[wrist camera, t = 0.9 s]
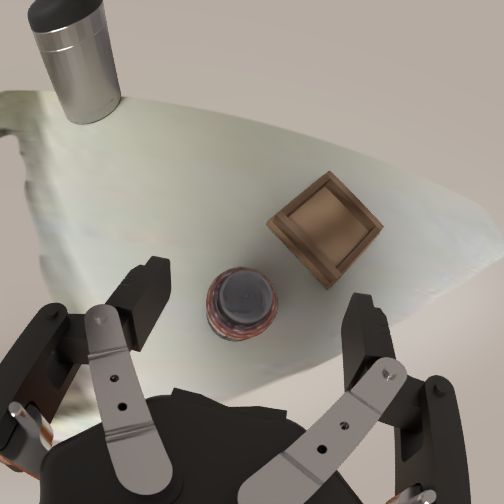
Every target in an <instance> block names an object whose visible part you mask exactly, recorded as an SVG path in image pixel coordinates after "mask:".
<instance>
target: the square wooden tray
mask: <svg viewBox="0 0 504 504" xmlns="http://www.w3.org/2000/svg"><path fill="white" fill-rule="evenodd" d="M266 225H267V226H268V227H269V228H270V229H271V230H272V231H273V232H274V234H275V235H276V236H277V237H278V238H279V239H280V240H281V241H282V242H283V243H284V244H285V245H286V246H287V247H288V248H289V249H290V250H291V251H292V252H293V253H294V255H295V256H296V257H297V258H298V259H299V260H300V261H301V262H302V263H303V264H304V265H305V266H306V267H307V268H308V269H309V270H310V272H311V273H312V274H313V275H314V276H315V277H316V278H317V279H318V280H319V281H320V282H321V283H322V284H323V285H324V287H325V288H326V289H329V288H331V287H332V286H333V284H334V283H335V282H336V281H337V280H338V279H339V278H340V277H341V276H342V275H343V274H344V273H345V272H346V271H347V269H348V268H349V267H350V266H351V265H352V264H353V263H354V262H355V261H356V260H357V259H358V257H359V256H360V255H361V254H362V253H363V252H364V251H365V250H366V249H367V247H368V246H369V245H370V244H371V243H372V242H373V241H374V240H375V238H376V237H377V236H378V235H379V234H380V231H381V230H382V229H383V227H384V226H383V225H382V224H381V223H380V222H379V221H378V220H377V218H376V217H375V216H374V215H373V214H372V213H371V212H370V211H369V210H368V209H367V208H366V207H365V206H364V205H363V204H362V203H361V202H360V200H359V199H358V198H357V197H356V196H355V195H354V194H353V193H352V192H351V191H350V190H349V189H348V188H347V187H346V186H345V185H344V184H343V183H342V182H341V181H340V180H339V179H338V178H337V177H336V176H335V175H334V174H333V173H332V172H331V171H328V172H327V173H326V174H325V175H323V176H322V177H321V178H319V179H318V180H317V181H316V182H315V183H313V184H312V185H311V186H310V187H308V188H307V189H306V190H305V191H304V192H302V193H301V194H300V195H299V196H298V197H296V198H295V199H294V200H293V201H291V202H290V203H289V204H288V205H287V206H285V207H284V208H283V209H282V210H281V211H279V212H278V213H277V214H276V215H274V216H273V217H272V218H271V219H270V220H268V221H267V223H266Z"/></svg>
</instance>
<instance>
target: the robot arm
mask: <svg viewBox="0 0 504 504" xmlns="http://www.w3.org/2000/svg"><path fill="white" fill-rule="evenodd" d="M28 20H29V23H30V26H31V29H32V31H33V34H34V37H35V40H36V43H37V46H38V48H39V51H40V54H41V56H42V59H43V62H44V64H45V67H46V69H47V71H48V74H49V77H50V79H51V82H52V84H53V87H54V89H55V91H56V94H57V96H58V99H59V101H60V103H61V106H62V108H63V110H64V112H65V115H66V117H67V118H68V120H70V121H71V122H73V123H76V124H88V123H92V122H95V121H98V120H100V119H102V118H104V117H105V116H107V115H108V114H109V113H111V112H112V111H113V110H114V109H115V108H116V106H117V105H118V103H119V101H120V98H121V92H120V87H119V83H118V78H117V73H116V68H115V64H114V59H113V54H112V49H111V44H110V39H109V33H108V27H107V22H106V17H105V11H104V4H103V0H36V1H35V2H34V3H33V4H32V5H31V6H30V8H29V10H28ZM170 293H171V273H170V260H169V259H166V258H161V257H156V256H152V257H151V258H150V259H149V260H148V262H147V263H146V264H145V266H144V265H139V266H137V267H135V268H134V269H132V270H131V271H130V272H129V273H128V274H127V276H126V277H125V279H123V281H122V282H121V284H120V285H119V286H118V287H117V288H116V290H115V291H114V292H113V294H112V295H111V296H110V298H109V299H108V300H107V302H106V303H105V304H101V305H96V306H94V307H92V308H90V309H89V310H88V311H87V312H86V314H68V312H67V309H66V307H65V306H64V305H63V304H60V303H50V304H47V305H45V306H44V307H42V308H41V309H40V310H39V311H38V313H37V314H36V315H35V317H34V318H33V319H32V320H31V322H30V323H29V324H28V326H27V327H26V328H25V330H24V331H23V333H22V334H21V335H20V336H19V338H18V339H17V341H16V342H15V343H14V345H13V346H12V348H11V349H10V350H9V352H8V353H7V355H6V356H5V358H4V359H3V360H2V362H1V363H0V462H1V463H4V464H5V465H6V466H8V467H9V468H10V469H12V470H13V471H15V472H25V473H27V474H29V475H31V476H32V477H34V478H36V479H38V480H40V503H39V504H363V503H362V502H361V500H360V499H359V498H358V496H357V495H356V494H355V493H354V491H353V490H352V489H351V488H350V486H349V485H348V484H347V482H346V481H345V480H344V478H343V477H342V476H341V474H340V473H339V472H338V471H337V469H338V467H339V466H340V465H341V464H342V463H343V462H344V461H345V460H346V459H347V457H348V456H349V455H350V454H351V453H352V452H353V450H354V449H355V448H356V447H357V446H358V445H359V443H360V442H361V441H362V440H363V438H364V437H365V436H366V434H368V432H369V431H370V429H371V428H372V427H373V426H374V425H375V423H376V422H377V421H380V422H382V423H385V424H388V425H391V426H394V434H395V496H394V497H393V498H391V499H390V500H388V501H387V502H386V504H471V495H470V483H469V473H468V465H467V457H466V451H465V443H464V437H463V431H462V425H461V420H460V415H459V409H458V404H457V400H456V395H455V391H454V388H453V386H452V384H451V383H450V382H449V381H448V380H447V379H446V378H444V377H442V376H438V375H434V376H431V377H429V378H428V379H427V380H426V381H425V382H424V381H421V380H419V379H416V378H413V377H411V376H409V375H407V372H406V369H405V367H404V366H403V365H402V364H401V363H400V362H399V361H397V360H396V357H395V352H394V348H393V343H392V339H391V335H390V330H389V328H388V322H387V318H386V316H385V314H384V313H383V312H382V310H381V309H380V308H375V307H374V305H373V301H372V297H371V295H367V294H361V293H353V295H352V297H351V300H350V303H349V305H348V308H347V311H346V313H345V316H344V319H343V322H342V327H341V337H342V352H343V368H344V388H345V393H344V394H343V396H342V397H341V398H340V399H339V400H338V401H337V402H336V403H335V404H334V405H333V406H332V407H331V408H330V409H329V410H328V411H327V412H326V413H325V414H324V415H323V416H322V417H321V418H320V419H319V420H318V421H317V422H316V423H315V424H314V425H313V426H311V427H310V429H308V430H305V429H304V428H303V427H301V426H300V425H298V424H297V423H295V422H293V421H291V420H289V419H286V415H287V411H286V410H279V409H273V408H267V407H261V406H252V407H227V406H225V405H222V404H220V403H218V402H216V401H214V400H212V399H209V398H207V397H205V396H203V395H201V394H197V393H193V392H189V391H185V390H181V389H177V388H174V389H173V391H172V394H171V395H159V396H154V397H150V398H147V399H145V398H144V396H143V393H142V390H141V387H140V384H139V381H138V378H137V375H136V372H135V369H134V366H133V363H132V359H131V356H130V351H131V350H134V351H138V352H140V351H141V349H142V348H143V346H144V344H145V342H146V340H147V338H148V336H149V335H150V333H151V331H152V329H153V327H154V325H155V323H156V322H157V320H158V318H159V316H160V314H161V313H162V311H163V309H164V307H165V305H166V304H167V302H168V300H169V297H170ZM81 364H89V366H90V371H91V376H92V381H93V386H94V391H95V395H96V400H97V404H98V408H99V412H100V416H101V420H102V422H101V423H99V424H97V425H95V426H93V427H91V428H89V429H87V430H85V431H83V432H81V433H79V434H77V435H75V436H73V437H71V438H69V439H67V440H65V441H62V442H60V443H58V444H57V445H55V446H53V447H52V440H53V430H52V427H51V426H50V424H51V421H52V419H53V417H54V415H55V413H56V411H57V409H58V407H59V405H60V403H61V401H62V400H63V398H64V396H65V394H66V392H67V390H68V388H69V386H70V384H71V382H72V380H73V379H74V377H75V375H76V373H77V371H78V369H79V368H80V366H81ZM51 447H52V448H51Z"/></svg>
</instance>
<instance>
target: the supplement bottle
mask: <svg viewBox="0 0 504 504" xmlns="http://www.w3.org/2000/svg"><path fill="white" fill-rule="evenodd" d="M277 306H278V301H277V294H276V291H275V289H274V287H273V285H272V284H271V282H270V281H269V280H268V279H267V278H266V277H265V276H264V275H263V274H262V273H260V272H258V271H256V270H253V269H250V268H246V267H239V268H233V269H230V270H227V271H225V272H223V273H222V274H220V275H219V276H218V277H217V278H216V279H215V280H214V281H213V283H212V284H211V286H210V288H209V291H208V294H207V300H206V309H207V320H208V323H209V325H210V327H211V329H212V330H213V331H214V332H215V333H216V334H217V335H218V336H220V337H221V338H223V339H226V340H229V341H242V340H246V339H249V338H251V337H254V336H257V335H259V334H260V333H262V332H263V331H264V330H266V329H267V328H268V327H269V325H270V324H271V323H272V321H273V320H274V317H275V315H276V312H277Z"/></svg>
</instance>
